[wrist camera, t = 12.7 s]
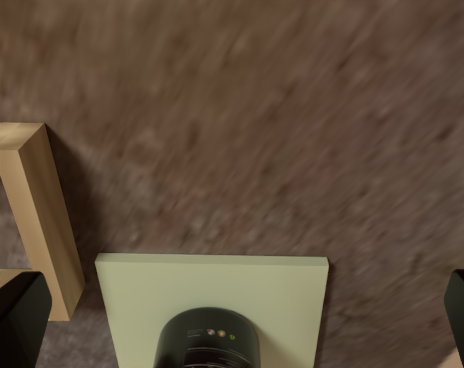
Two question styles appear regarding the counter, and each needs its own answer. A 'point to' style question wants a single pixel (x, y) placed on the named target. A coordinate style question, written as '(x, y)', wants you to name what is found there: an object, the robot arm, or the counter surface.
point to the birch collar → (40, 214)
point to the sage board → (214, 300)
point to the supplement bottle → (208, 341)
